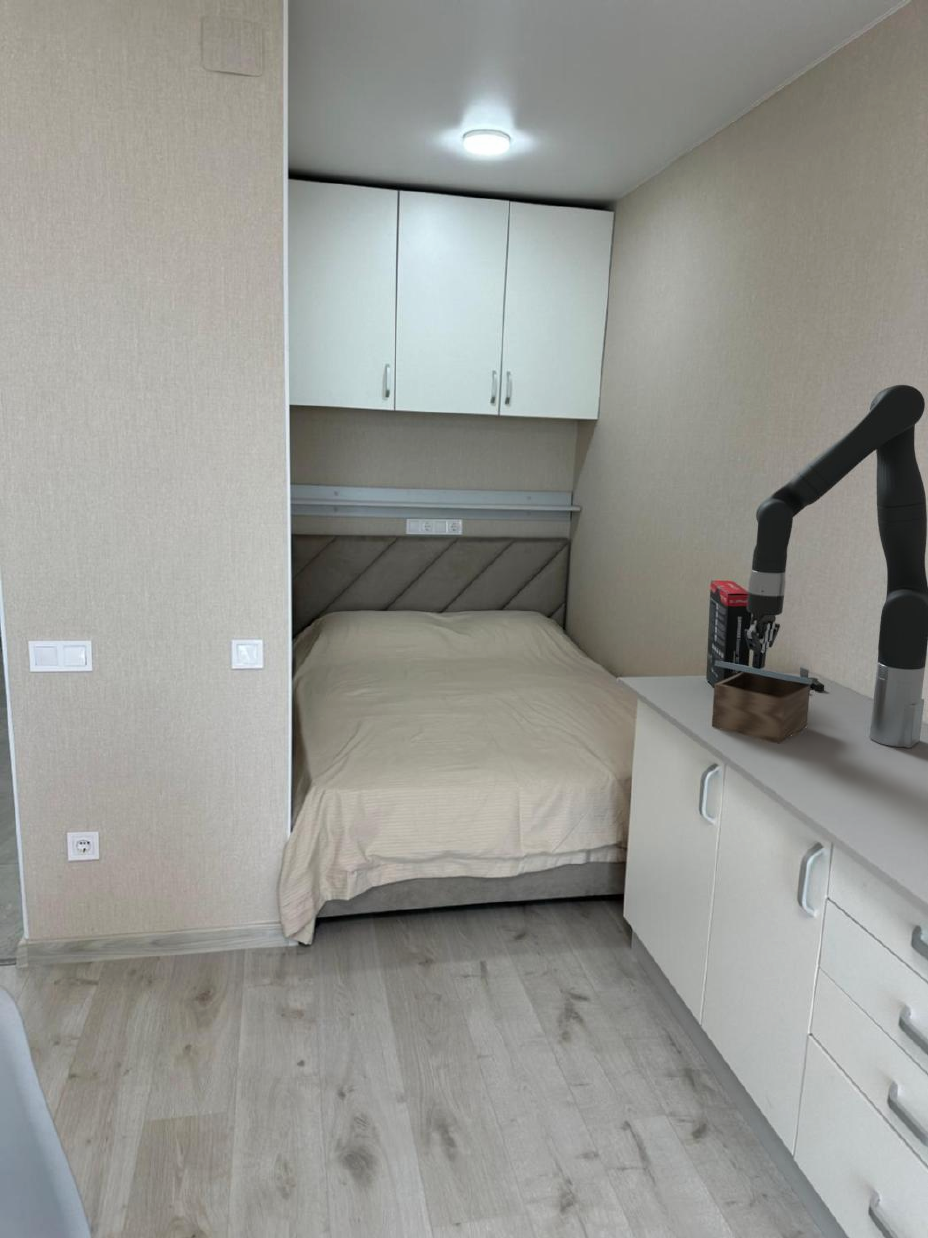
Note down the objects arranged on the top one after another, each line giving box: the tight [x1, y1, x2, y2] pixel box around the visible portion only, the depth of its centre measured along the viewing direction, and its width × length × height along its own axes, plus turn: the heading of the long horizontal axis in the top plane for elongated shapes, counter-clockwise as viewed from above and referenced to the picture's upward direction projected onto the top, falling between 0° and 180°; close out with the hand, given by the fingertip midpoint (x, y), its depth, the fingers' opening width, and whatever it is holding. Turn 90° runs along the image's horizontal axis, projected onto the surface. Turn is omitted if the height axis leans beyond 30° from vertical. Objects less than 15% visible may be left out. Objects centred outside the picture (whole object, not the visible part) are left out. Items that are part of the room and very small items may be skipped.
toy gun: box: [798, 666, 825, 692], centre depth 230 cm, size 10×12×5 cm
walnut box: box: [711, 672, 811, 744], centre depth 202 cm, size 16×14×10 cm
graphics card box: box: [705, 580, 752, 689], centre depth 227 cm, size 17×7×27 cm, turn 0°
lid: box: [714, 660, 813, 685], centre depth 201 cm, size 17×15×1 cm
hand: (758, 667), depth 199 cm, fingers closed
